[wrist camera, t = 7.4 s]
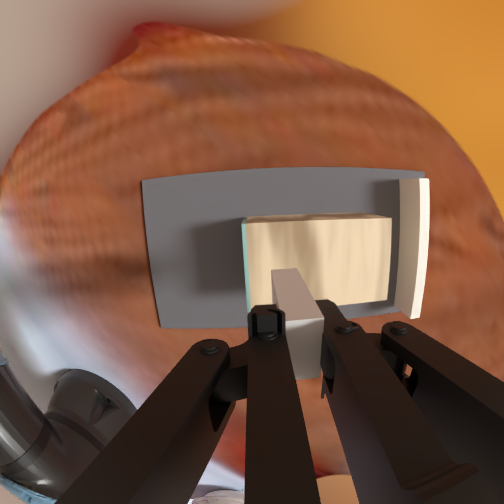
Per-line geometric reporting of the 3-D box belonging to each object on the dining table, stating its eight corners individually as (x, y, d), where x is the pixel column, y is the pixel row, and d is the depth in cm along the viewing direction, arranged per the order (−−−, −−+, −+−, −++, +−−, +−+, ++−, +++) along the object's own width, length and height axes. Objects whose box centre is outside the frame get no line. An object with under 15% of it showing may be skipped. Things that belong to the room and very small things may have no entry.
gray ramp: (162, 326, 29) (161, 328, 28) (143, 180, 25) (141, 180, 25) (415, 307, 28) (417, 308, 28) (422, 171, 25) (424, 171, 25)
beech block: (247, 312, 21) (386, 299, 21) (241, 223, 20) (391, 218, 20) (248, 287, 27) (362, 279, 27) (244, 216, 26) (364, 212, 26)
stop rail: (393, 304, 28) (410, 319, 24) (399, 179, 25) (419, 178, 21) (402, 303, 28) (419, 317, 24) (408, 179, 25) (428, 178, 21)
